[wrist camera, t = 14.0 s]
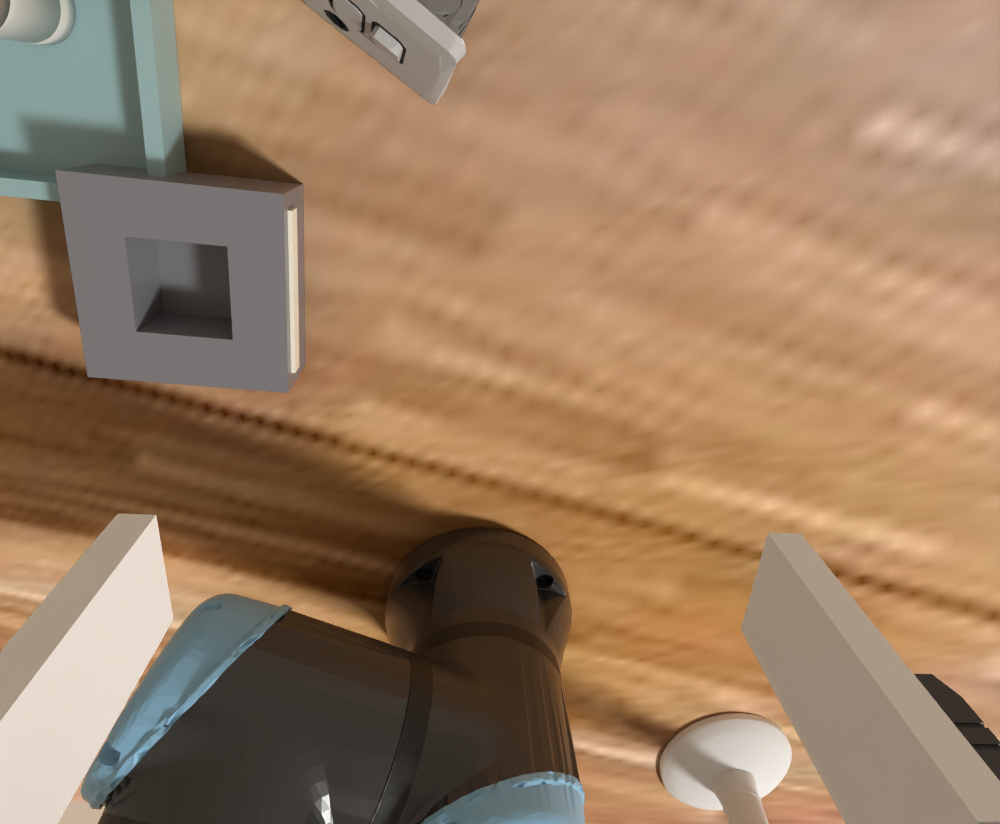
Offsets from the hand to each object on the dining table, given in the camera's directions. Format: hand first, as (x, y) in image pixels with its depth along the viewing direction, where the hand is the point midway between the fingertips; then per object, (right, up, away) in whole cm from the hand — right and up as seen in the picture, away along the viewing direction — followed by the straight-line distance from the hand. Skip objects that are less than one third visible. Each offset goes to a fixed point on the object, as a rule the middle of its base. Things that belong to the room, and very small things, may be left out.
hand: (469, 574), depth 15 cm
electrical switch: (-6, +26, +23) cm, 36 cm away
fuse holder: (-18, +13, +29) cm, 36 cm away
